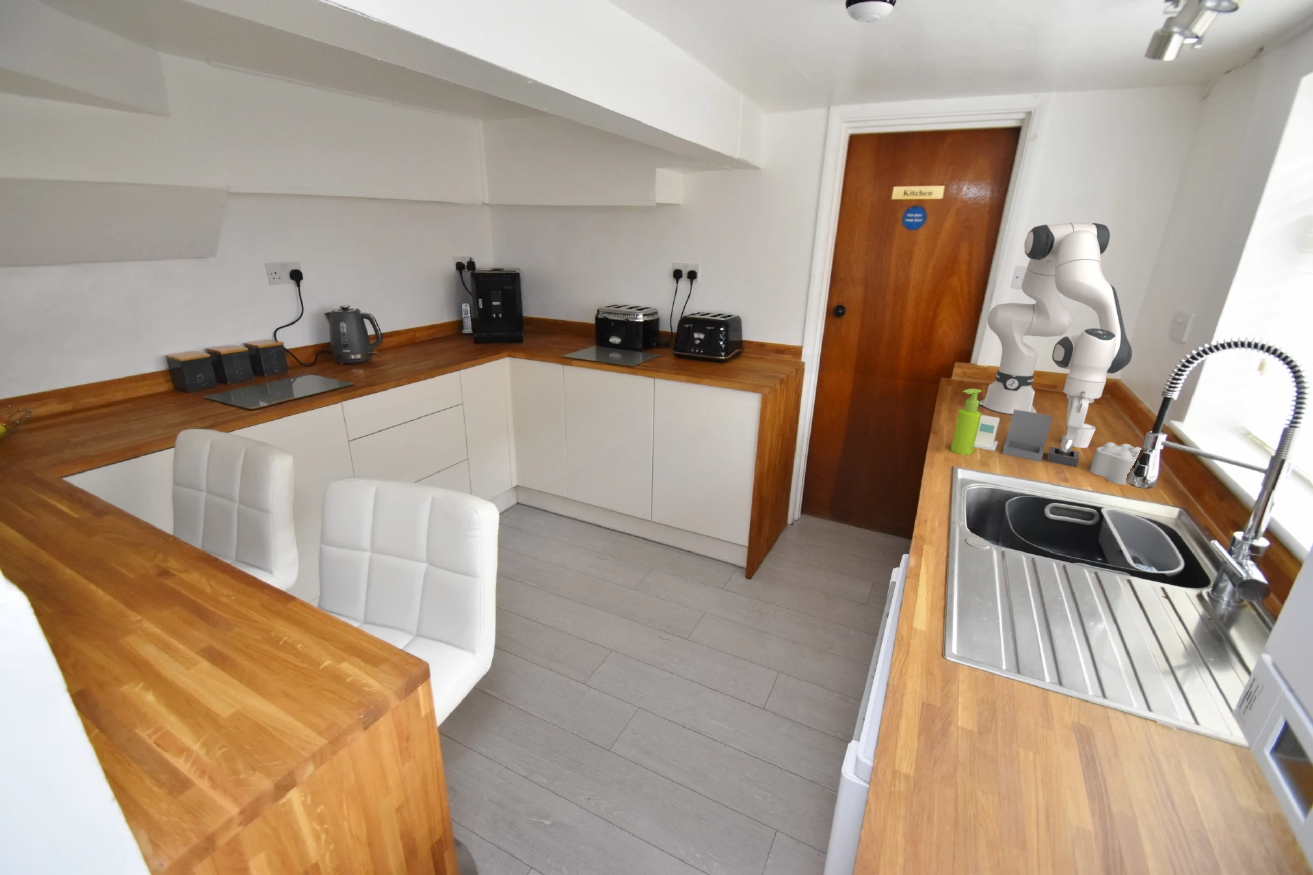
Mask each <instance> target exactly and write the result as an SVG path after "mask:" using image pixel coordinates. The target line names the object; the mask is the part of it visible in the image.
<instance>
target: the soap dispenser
mask: <svg viewBox="0 0 1313 875" xmlns="http://www.w3.org/2000/svg"><path fill="white" fill-rule="evenodd" d="M981 392H982V390H981V389H979V388H968V389H964V390H962V393H964V394H966V395H967V394H968V395H969V394H970V397H968V398H967V399H966V401H965V405H964V408H961V409H959V411H958V415H957V420H956V424H955V429H954V433H953V438H952V442H951V448H950V451H951V452H953V453H955V454H957V455H962V456H970V455H972V454H973V452H974V450H975V449H974V448H975V447H974V444H975V440H976V436H977V431H978V427H979V423H980V419H981V416H982V415H983V414H982V412H980V411H979V410H978V408H979V406H980V405H979V402H980V400H978V395H979V393H981Z"/></svg>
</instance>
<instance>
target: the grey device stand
mask: <svg viewBox="0 0 1313 875" xmlns="http://www.w3.org/2000/svg"><path fill="white" fill-rule="evenodd" d="M1053 417H1054V416H1053V415H1049V414H1045V413H1044V414H1043V413H1038V412H1036V413H1033V412H1027V411H1021V410H1015V409H1014V412H1013V414H1012V416H1011V420H1010V424H1009V428H1008V432H1007V436H1006V440H1005V441H1004V445H1003V449H1002V452H1001V454H1002V455H1008V456H1013V457H1017V458H1021V459H1026V460H1031V461H1036V462H1042V460H1043V456H1044V452H1045V451H1044V450H1045V445H1046V442H1047V438H1048V435H1049V431H1050V429H1051V428H1050V427H1051V423H1052V421H1053Z"/></svg>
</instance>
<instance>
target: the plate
mask: <svg viewBox="0 0 1313 875" xmlns="http://www.w3.org/2000/svg"><path fill="white" fill-rule="evenodd" d="M998 444H999V441H998V440H995V441H994V444H993V446H992V447H990V446H985V445H980V444H974V448H977V449H982V450H988V451H994V452H995V451H996V449H997V446H998Z"/></svg>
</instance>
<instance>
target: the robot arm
mask: <svg viewBox="0 0 1313 875" xmlns="http://www.w3.org/2000/svg"><path fill="white" fill-rule="evenodd" d="M1110 236H1111V234H1110V230H1109V228H1108V226H1107V225H1105V224H1102V223H1098V222H1097V223H1096V222H1093V223H1085V222H1069V223H1056V224H1049V225H1048V224H1041V225H1037V226H1034V227H1032V229H1031V230H1029V231H1028V233H1027V235H1026V238H1025V240H1024V243H1023V244H1024V248H1023V249H1024V254H1025V255H1026V257H1027V258H1029V261H1028V263H1027V266H1026V269H1025V273H1024V277H1023V279H1022V282H1021V290H1022V292H1023V294H1025V295H1026V297H1028V298H1030V299H1031V300H1034V301H1035V303H1017V302H1007V303H1000V304H999V303H998V304H996V305H994V307H993V308H991V309H990V310H989V313H988V315H987V325H988V327H989V329H990V330H991V331H992V332H993V333H994V334H995V335H996V337H998V340H999V342H1000V345H1001V358H1000V364H999V367H998V370H997V371H996V373H995V377H994V380H995V381H993V382H992V383H990V384H989V385H988V388H987V392H986V396H985V398H984V399H982V400H979V404H980V405H979V406H981V405H983V406H982V407H985V408H987V409H988V410H992V411H993V412H996V413H997V412H998V413H1002V414H1007V415H1013V412H1014V409H1015V410H1021V411H1027V412H1033V413H1037V410H1036V409H1035V406H1034V405H1033V404H1034V398H1035V392H1036V391H1035V389H1033V387H1032V385H1033V383H1034V381H1035V380H1034V379H1035V374H1034V372H1035V370H1036V365H1037V361H1038V358H1039V356H1038V352H1037V351H1036V349H1035V348H1033V347H1032V346H1030V345H1028V344H1027V343H1025V342H1024V341H1023V337H1024V336H1030V337H1031V336H1032V337H1043V338H1049V337H1050V338H1051V337H1060V336H1061V337H1062V336H1063V335H1065V333H1067V332H1068V331H1069V330H1070V328H1071V327H1072V325H1073V324H1072V323H1073V315H1072V313H1071V311H1070V310H1069V309H1068V307H1066V306H1065V305H1064V303H1063V302H1062V300H1061V298H1060V294H1061V295H1063V297H1065V298H1067V299H1069V300H1072V301H1075V302H1078V303H1080V304H1083V305H1085V306H1087V307H1089V308H1090V309H1092V310H1093V311H1094V312H1095V313H1096V315H1097V318H1098V322H1099V323H1098V324H1099V327H1100V328H1086V329H1084V330H1083V331H1082V332H1081V333H1079V334H1076V335H1075V334H1074V335H1068V336H1067V335H1066V336H1063V337H1062V338H1061V339H1059V340H1058V341H1057V342H1056V343H1055V344H1054V347H1053V349H1052V355H1051V358H1052V361H1053V362H1054V364H1055V365H1056V366H1057V367H1059V368H1062V369H1064V370H1069V372H1068V374H1067V375H1066V379H1065V384H1064V387H1063V390H1062V392H1063V393H1064V394H1066V399H1067V400H1068V402H1067V411H1066V412H1067V414H1066V423H1065V424H1066V430H1067V431H1066V434H1065V435H1066V439H1067V440H1073V439H1074V436H1075V433H1076V431H1077V429H1081V428H1082V427H1083V424H1084V423H1085V421H1086V417H1087V413H1088V410H1089V407H1090V406H1089V404H1092V403H1094V402H1095V399H1100V398H1101V397H1102V395H1103V391H1104V388H1105V386H1106V383H1107V374H1116V373H1118V372H1119V371H1122V370H1123V369H1124V368H1126V367H1127V366H1128V365H1129V364H1130V362H1131V360H1132V357H1133V349H1132V346H1131V343H1130V341H1129V338H1128V337H1127V334H1126V329H1125V325H1124V324H1125V323H1124V320H1123V315H1122V310H1121V305H1120V301H1119V297H1118V293H1117V291H1116V288H1115V287H1114V285H1112V284H1110V283H1109V282H1108V281H1107V279H1106V277H1105V275H1104V273H1103V271H1102V256H1101V255H1102V254H1104V253H1105V252H1106V251H1107V249H1108V246H1109V243H1110V239H1111V238H1110Z"/></svg>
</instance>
